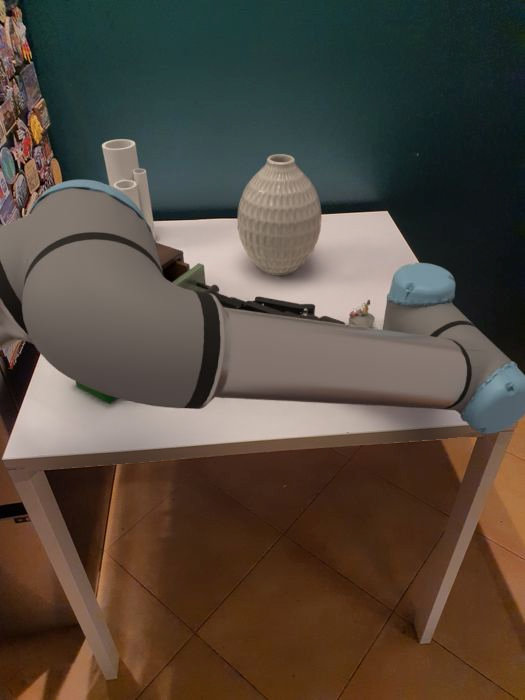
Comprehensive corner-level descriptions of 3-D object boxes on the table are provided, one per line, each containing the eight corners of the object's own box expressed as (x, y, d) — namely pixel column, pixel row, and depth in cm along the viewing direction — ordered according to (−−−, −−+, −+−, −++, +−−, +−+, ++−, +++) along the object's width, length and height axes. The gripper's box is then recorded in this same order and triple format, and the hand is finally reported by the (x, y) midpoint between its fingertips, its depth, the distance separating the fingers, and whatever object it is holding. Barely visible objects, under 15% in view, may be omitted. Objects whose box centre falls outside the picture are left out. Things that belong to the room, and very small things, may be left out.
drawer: (226, 312, 93) (224, 271, 87) (190, 343, 86) (185, 301, 80) (154, 285, 99) (148, 246, 94) (115, 312, 92) (106, 272, 87)
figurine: (370, 339, 88) (375, 310, 84) (344, 334, 89) (348, 305, 85) (375, 321, 92) (380, 293, 88) (350, 317, 93) (354, 289, 89)
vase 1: (115, 231, 119) (98, 142, 106) (146, 225, 121) (132, 137, 108) (129, 253, 111) (111, 159, 98) (161, 246, 113) (148, 153, 100)
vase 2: (258, 295, 98) (257, 181, 84) (227, 256, 110) (222, 150, 96) (332, 277, 103) (343, 166, 89) (295, 242, 115) (300, 139, 101)
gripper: (316, 392, 74) (185, 338, 83) (353, 343, 82) (231, 299, 92) (320, 351, 69) (181, 299, 79) (359, 304, 78) (229, 262, 87)
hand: (208, 299), depth 85 cm, fingers closed
